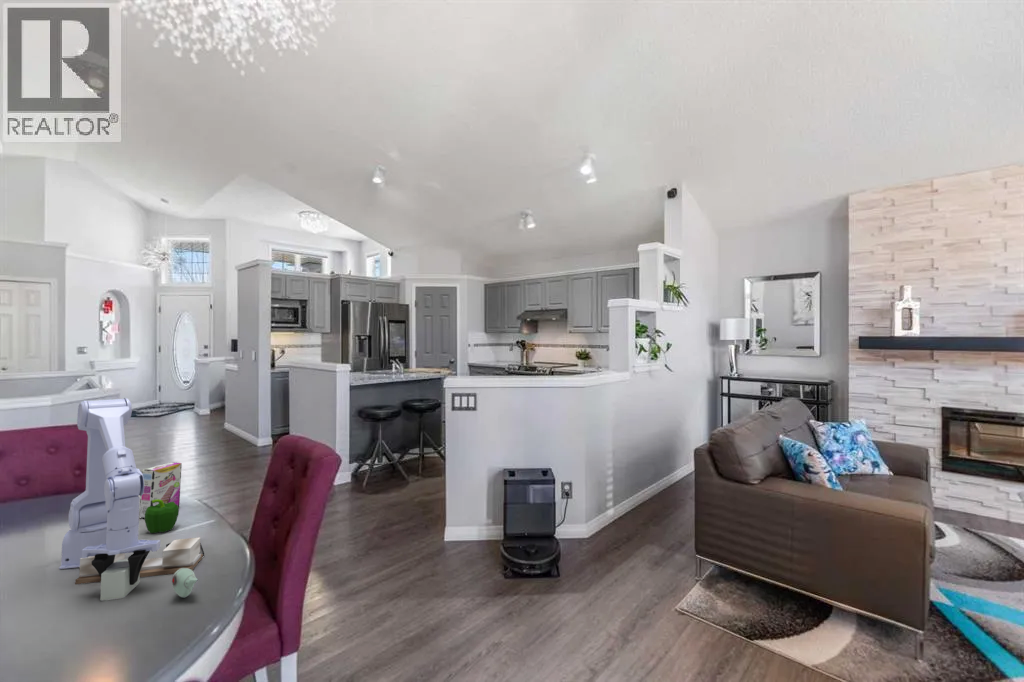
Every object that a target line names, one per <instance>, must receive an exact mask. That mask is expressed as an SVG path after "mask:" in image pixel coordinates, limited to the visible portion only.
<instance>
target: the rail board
mask: <svg viewBox="0 0 1024 682" xmlns="http://www.w3.org/2000/svg"><path fill="white" fill-rule="evenodd" d="M170 543H171V544H170V545H169V546H167V547H166V546H165V548H164V549H163V550H162V557H154V558H153V557H152V558H146V559H145V561H144V563H143V565H142V567H141V570H140V578H144V577H153V576H154V577H155V576H164V575H174V574H175V572H176V571H177V570H179V569H181V568H188V569H191V570H192V571H193V570H194V569H195V568H194V567H197V566H198V564H199V563H200V562H201V560H202V559H203V558H204V557H203V554H199V553H200V543H201V537H189V538H181V539H179V538H178V539H174V540H172V542H170ZM125 557H126V553H121V554H116V555H115V559H114V563H115V562H117V561H118V560H124V559H126V558H125ZM202 557H203V558H202ZM94 558H95V556H89V557H87V558H80V567H79V577H78V578H76V579H75V582H74V584H75V585H80V584H81V583H82V584H90V583H101V577H100V575H99V573H98V572H97V570H96V569H95V568H94V566H93V565H92V561H93V560H94ZM201 558H202V559H201ZM199 561H200V562H199ZM198 562H199V563H198ZM82 584H81V585H82Z"/></svg>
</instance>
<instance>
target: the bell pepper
mask: <svg viewBox="0 0 1024 682" xmlns="http://www.w3.org/2000/svg"><path fill="white" fill-rule="evenodd" d="M152 502H153V503H155V502H158V503H159V504H157V505H155V506H150V507H148V508H147V509H146V512H145V519H144V522H145V527H146V529H147V531H148V532H149V533H150V534H154V533H156V534H157V533H166V532H169V531H168V530H170V529H171V530H173V529H174V527H175V526H176V523H177V520H178V517H179V514H180V513H179V511H180V506H179V507H178V505H176V504H175V503H174V502H169V503H163V501H162V500H160V499H155V500H152ZM172 528H173V529H172ZM171 530H170V531H171ZM165 531H166V532H165Z"/></svg>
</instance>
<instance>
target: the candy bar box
mask: <svg viewBox="0 0 1024 682" xmlns="http://www.w3.org/2000/svg"><path fill="white" fill-rule="evenodd" d="M182 467H183V465H182V463H181V462H166V463H163V464H158V465H154V466H151V467H147V468H142V469H141V472H142V474H143V478H144V492H143V495H142V496H140V495H139V497H140V502H139V519H141V518H145V512H146V509H147V508H148V507H150V506H155V505H157V504H159V503H158V502H155V503H153V502H152V500H155V499H160V500H162V501H163V503H169V502H174V503H175V504H176V505H178V507H179V508H180V504H181V503H180V501H181V499H180V498H181V481H182V480H181V479H182ZM140 517H141V518H140Z"/></svg>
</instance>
